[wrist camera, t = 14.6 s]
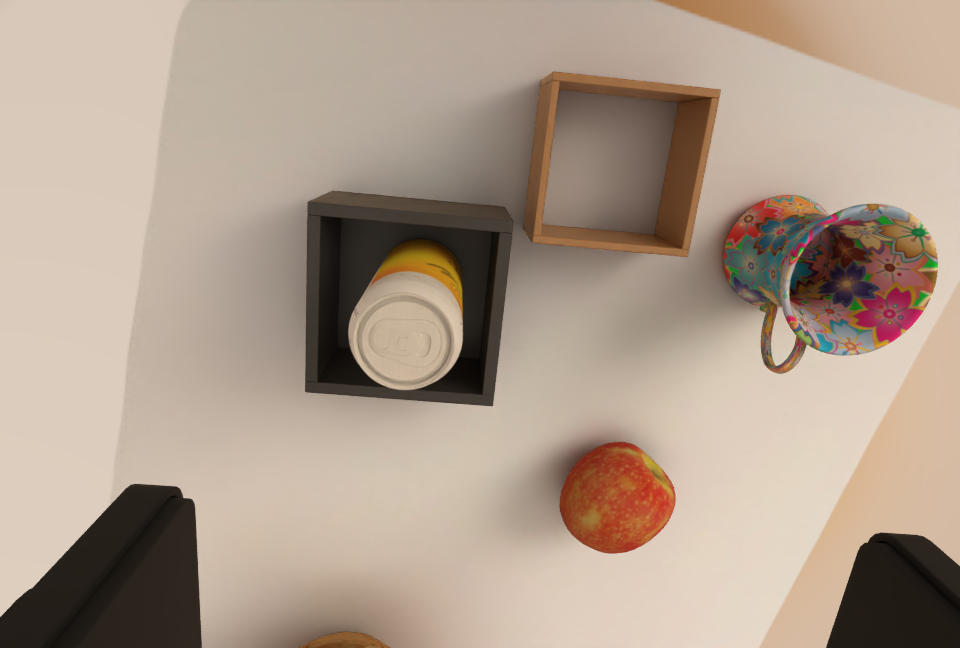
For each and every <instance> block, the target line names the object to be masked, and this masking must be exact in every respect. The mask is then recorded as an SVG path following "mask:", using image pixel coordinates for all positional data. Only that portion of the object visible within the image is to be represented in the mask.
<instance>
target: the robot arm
mask: <svg viewBox="0 0 960 648" xmlns="http://www.w3.org/2000/svg"><path fill="white" fill-rule="evenodd" d="M0 648H202V642H201V621H200V600H199V579H198V558H197V537H196V516H195V504H194V502H193V500H192V499H187V498H183V495H182V492H181V490H180V489H179V488H178V487H175V486H160V485H144V484H133V485H130V486H129V487H128V488H126V489H125V490H124V491H123V492H122V493H121V494H120V496H119V497H118V498H117V499H116V500H115V501H114V502H113V503H112V504H111V505H110V506H109V507H108V508H107V509H106V510H105V511H104V513H103V514H102V515H101V516H100V517H99V518H98V519H97V520H96V521H95V522H94V523H93V524H92V525H91V526H90V527H89V528H88V530H87V531H86V532H85V533H84V534H83V535H82V536H81V537H80V538H79V539H78V540H77V541H76V542H75V543H74V545H73V546H72V547H71V548H70V549H69V550H68V551H67V552H66V553H65V554H64V555H63V556H62V558H60V559H59V560H58V561H57V563H56V564H55V565H54V566H53V567H52V568H51V569H50V570H49V571H48V572H47V573H46V574H45V575H44V576H43V577H42V578H41V579H40V581H39V582H38V583H37V584H36V585H35V586H34V587H33V588H32V589H29V590H28V591H27V592H26V593H24V594H23V595H22V596H21V597H20V598H18V599H17V600H16V601H15V602H14V603H13V604H12V606H11V607H10V608H9V609H8V610H7V611H6V612H5V613H4V614H3V615H2V616H1V617H0ZM826 648H960V566H959V565H958V564H957V563H955V562H954V561H953V560H952V559H951V558H950V557H948V556H947V555H946V554H945V553H944V552H943V551H941V550H940V549H939V548H938V547H937V546H936V545H935V544H933V543H932V542H931V541H930V540H928V539H926V538H925V537H923V536H918V535H909V534H894V533H878V534H875V535H873V536H872V537H871V538H870V540H869V541H868V543H864V544H863V545H862V546H861V547H860V549H859V550H858V553H857V556H856V559H855V562H854V565H853V568H852V571H851V574H850V577H849V580H848V583H847V586H846V589H845V592H844V595H843V598H842V601H841V605H840V607H839V611H838V613H837V616H836V619H835V622H834V626H833V628H832V632H831V635H830V638H829V641H828V644H827V647H826Z"/></svg>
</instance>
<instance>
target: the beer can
mask: <svg viewBox="0 0 960 648" xmlns="http://www.w3.org/2000/svg"><path fill="white" fill-rule="evenodd" d="M348 336H349V344H350V348H351V351H352V353H353V356H354V358H355V359H356V361H357V363H358V364H359V365H360V367H361V368H362V369H363V371H364V372H365V373H366V374H367V375H368V376H369V377H370V378H372V379H373V380H374V381H376V382H377V383H379V384H381V385H383V386H386V387H388V388H392V389H397V390H413V389H418V388H422V387H424V386H427V385H429V384H431V383H433V382H435V381H437V380H439V379H440V378H442V377H443V376H444V375H445V374H446V373H448V371H449V370H450V369H451V368H452V367H453V365H454V364H455V362H456V361H457V359H458V357H459V354H460V351H461V348H462V342H463V308H462V273H461V269H460V266H459V264H458V262H457V260H456V258H455V257H454V255H453V254H452V253H451V252H450V251H449V250H448V249H447V248H445V247H444V246H443V245H441V244H439V243H437V242H434V241H431V240H427V239H413V240H409V241H405V242H403V243H401V244H399V245H397V246H396V247H395V248H393V249H392V250H391V251H390V252H389V253H388V255H387V256H386V257H385V259H384V261H383V262H382V264H381V266H380V267H379V269H378V271H377V272H376V274H375V276H374V277H373V279H372V281H371V282H370V284H369V286H368V287H367V289H366V291H365V292H364V294H363V295H362V297H361V299H360V300H359V302H358V304H357V305H356V307H355V309H354V311H353V313H352V316H351V319H350V323H349V330H348Z"/></svg>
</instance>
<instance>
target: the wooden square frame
mask: <svg viewBox="0 0 960 648" xmlns="http://www.w3.org/2000/svg"><path fill="white" fill-rule="evenodd" d="M559 90H569V91H578V92H587V93H597V94H606V95H616V96H625V97H634V98H644V99H653V100H663V101H672V102H679V103H678V108H677V114H676V119H675V125H674V130H673V136H672V141H671V147H670V152H669V158H668V163H667V169H666V174H665V180H664V185H663V191H662V196H661V202H660V207H659V213H658V218H657V224H656V229H655V235H652V234H641V233H630V232H620V231H609V230H598V229H588V228H577V227H566V226H555V225H545V224H542V220H543V212H544V204H545V196H546V188H547V180H548V173H549V165H550V157H551V149H552V141H553V133H554V125H555V117H556V109H557V101H558V93H559ZM720 92H721V90H720V89H710V88H701V87H692V86H683V85H673V84H664V83H655V82H646V81H636V80H627V79H618V78H609V77H599V76H590V75H581V74H572V73H562V72H552V73H551V74H549V75H548V76H546V77H545V78H543V79H542V80H541V81H540V89H539V97H538V106H537V115H536V123H535V132H534V140H533V149H532V157H531V166H530V174H529V183H528V191H527V200H526V208H525V217H524V225H523V229H524V231H525V232H526V234H527V235H528V237H529V238H530V240H531V241H532V243H540V244H551V245H562V246H573V247H584V248H595V249H606V250H617V251H628V252H638V253H649V254H660V255H671V256H682V257H688V253H689V250H688V249H689V248H690V243H691V238H692V233H693V228H694V223H695V218H696V213H697V208H698V203H699V198H700V193H701V188H702V183H703V177H704V172H705V167H706V162H707V157H708V152H709V147H710V142H711V137H712V132H713V127H714V122H715V117H716V112H717V107H718V102H719V97H720Z"/></svg>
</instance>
